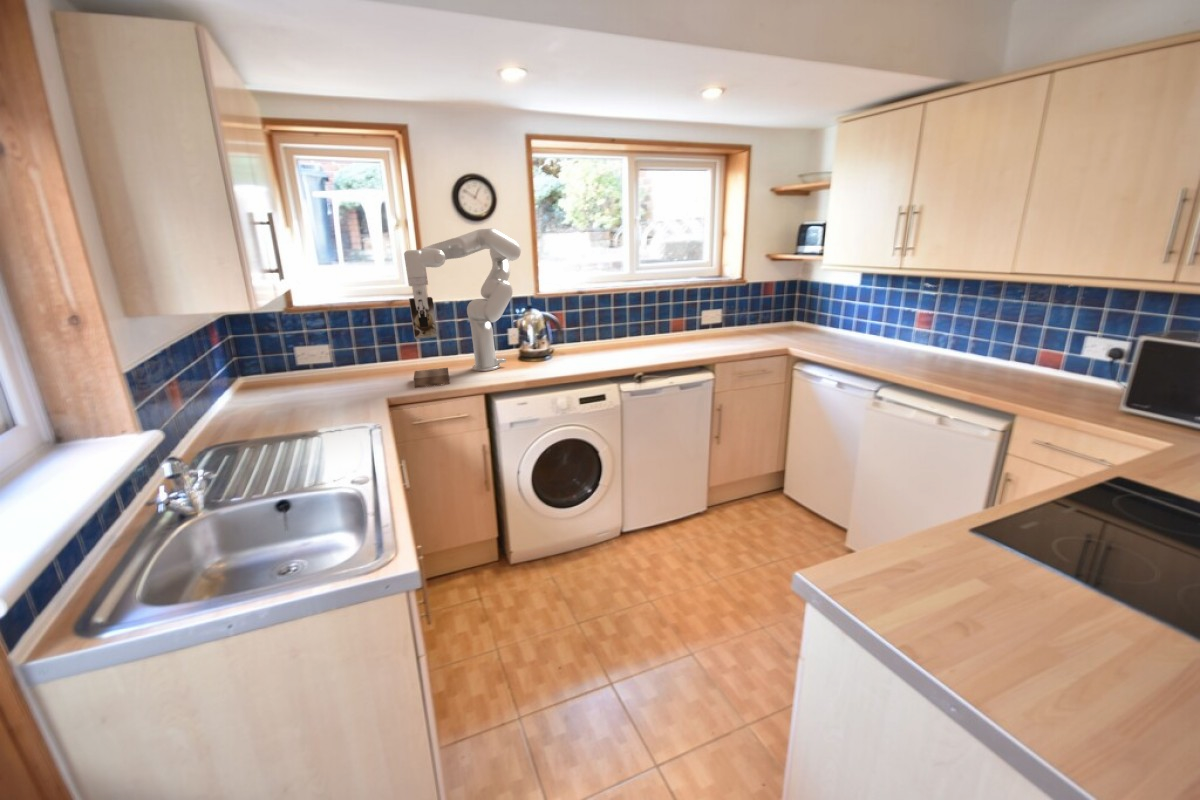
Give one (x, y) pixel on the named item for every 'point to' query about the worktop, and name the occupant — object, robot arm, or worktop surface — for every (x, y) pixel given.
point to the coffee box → (431, 329)
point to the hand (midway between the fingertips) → (424, 325)
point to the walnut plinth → (431, 377)
